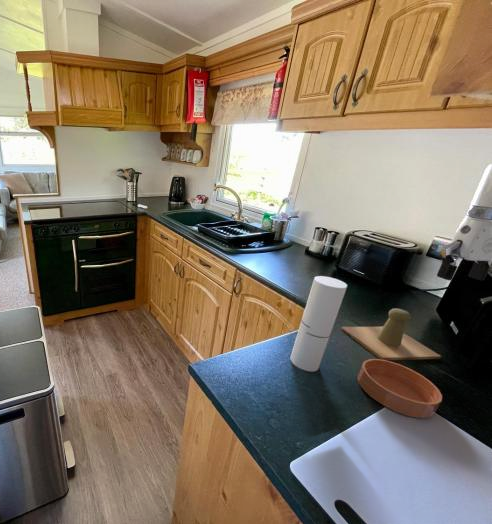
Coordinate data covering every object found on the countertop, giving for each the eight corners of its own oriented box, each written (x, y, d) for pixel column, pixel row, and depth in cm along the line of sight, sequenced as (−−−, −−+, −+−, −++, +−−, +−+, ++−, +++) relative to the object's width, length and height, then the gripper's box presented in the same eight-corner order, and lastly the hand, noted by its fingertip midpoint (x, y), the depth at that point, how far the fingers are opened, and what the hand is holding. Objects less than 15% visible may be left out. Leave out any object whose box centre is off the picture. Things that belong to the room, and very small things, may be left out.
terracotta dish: (391, 371, 80) (397, 358, 78) (451, 417, 66) (460, 402, 65) (343, 373, 78) (348, 359, 76) (394, 421, 64) (402, 405, 63)
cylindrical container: (303, 352, 85) (328, 275, 77) (324, 369, 79) (354, 286, 70) (284, 356, 83) (307, 277, 74) (304, 373, 77) (332, 289, 68)
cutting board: (391, 328, 102) (392, 326, 101) (440, 358, 87) (441, 356, 87) (340, 329, 99) (341, 326, 99) (382, 360, 84) (383, 357, 84)
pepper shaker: (372, 336, 94) (385, 307, 90) (383, 333, 96) (396, 304, 93) (393, 348, 89) (407, 317, 85) (404, 344, 91) (418, 314, 88)
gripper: (477, 216, 66) (446, 284, 72) (539, 218, 68) (505, 284, 74) (442, 210, 73) (416, 272, 79) (499, 213, 75) (471, 273, 81)
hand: (459, 278), depth 77 cm, fingers open, 9 cm apart
